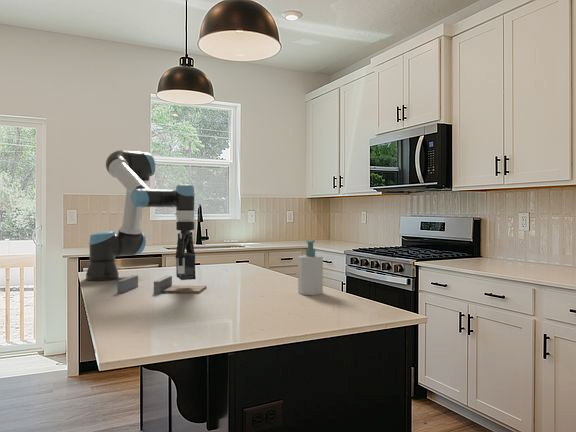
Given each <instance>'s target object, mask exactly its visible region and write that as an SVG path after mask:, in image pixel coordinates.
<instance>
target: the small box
mask: <svg viewBox="0 0 576 432" xmlns="http://www.w3.org/2000/svg"><path fill="white" fill-rule="evenodd" d="M184 258H185V274H178V258H176V257H175V259H176V261H175V263H176V264H175V265H176V266H175V267H176V277H177V278H178V279H179V280H180V281H187V280H189V281H190V280H196V277H197V276H196V254H192V253H187V252H185V253H184Z"/></svg>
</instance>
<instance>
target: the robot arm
mask: <svg viewBox="0 0 576 432" xmlns="http://www.w3.org/2000/svg"><path fill="white" fill-rule="evenodd" d="M155 162H156V161H155V158H154V157H153V155H152V154H151V153H150V152H144V151H134V150H133V151H132V150H124V149H123V150H122V149H121V150H120V149H119V150H116V151H113V152H112V153H110V154H109V155H108V157H107V158H106V161H105V169H106V171H107V172H108V174H109V175H111V176H112V177H113V178H116V179H117V180H118V181H119V183H121V185H122V186H123V187H124V188H125V190H126V193H125V201H124V202H125V203H124V209H123V217H122V226H121V227H118V232H117V233H116V232H115V230H104V231H98V232H94V233H91V234H90V235H89V243H88V245H89V265H88V267H87V271H86V274H85V280H87V281H110V280H116V279H119V278H120V277H119V274H120V273H119V271H118V267H117V264H116V257H126V256H137V255H140V254H142V253H143V251H144V250H145V248H146V243H147V242H146V241H147V240H146V235H145V233H143V230H142V228H141V221H142V212H143V208H175V210H176V212H175V214H174V215H175V216H176V220H177V221H176V220H175V221H176V225H175V226H176V231H180V233H179V232H178V233H177V243H176V252H175V255H174V256H175V259H176V258H178V274H185V258H184V253H192V254H194V255H196V253H195V248H194V247H195V246H194V238H193V231H194V230H195V221H194V220H195V195H196V194H195V188H194V185H193V184H177V185H176V188H175V189H154V188H153V189H151V188H150V187H149V186H148V185H147V184H146V183H148V182H149V181H150V177H152V176H154V175H155V172H156V163H155Z"/></svg>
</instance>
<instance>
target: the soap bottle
mask: <svg viewBox="0 0 576 432" xmlns="http://www.w3.org/2000/svg"><path fill="white" fill-rule="evenodd" d="M305 242H306V243H307V248H305V255H299V256H298V257H297V258H298V259H297V260H298V263H297V266H298V268H297V269H298V270H297V271H298V272H297V274H298V275H297V278H298V280H297V286H298V287H297V292H298V293H299V294H301V295H302V296H317V295H322V294H323V293H324V292H323V291H324V290H323V289H324V286H323V285H324V283H323V282H324V281H323V279H324V278H323V277H324V271H323V270H324V267H323V266H324V258H323V256H321V255H318V254H317V255H316V249H315V248H314V243H316V241H315V240H311V239H308V240H306V241H305Z"/></svg>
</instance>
